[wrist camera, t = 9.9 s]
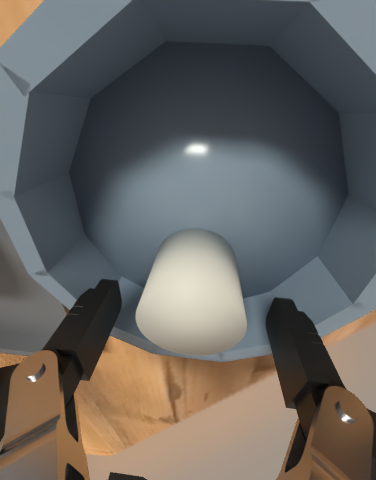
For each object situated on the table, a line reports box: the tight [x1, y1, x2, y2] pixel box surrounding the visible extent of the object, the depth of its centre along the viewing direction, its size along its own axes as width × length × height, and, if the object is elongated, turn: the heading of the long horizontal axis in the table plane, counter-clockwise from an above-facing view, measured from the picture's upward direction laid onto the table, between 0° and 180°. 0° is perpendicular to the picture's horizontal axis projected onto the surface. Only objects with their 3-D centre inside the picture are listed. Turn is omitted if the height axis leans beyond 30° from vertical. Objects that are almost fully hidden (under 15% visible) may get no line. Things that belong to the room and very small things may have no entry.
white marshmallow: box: [135, 228, 247, 356], centre depth 11 cm, size 5×5×4 cm
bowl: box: [0, 0, 376, 362], centre depth 10 cm, size 16×16×4 cm
